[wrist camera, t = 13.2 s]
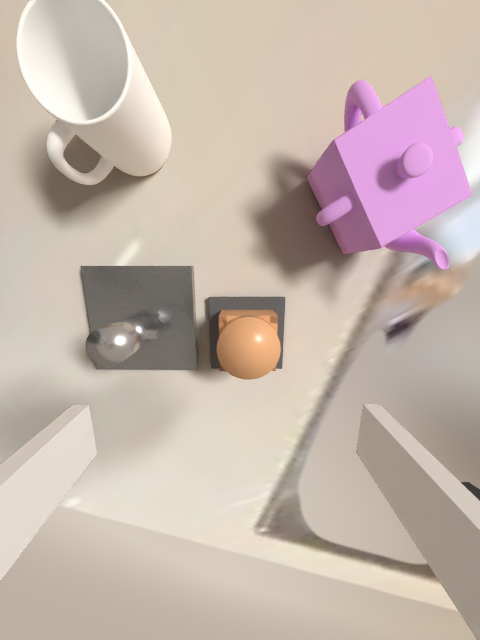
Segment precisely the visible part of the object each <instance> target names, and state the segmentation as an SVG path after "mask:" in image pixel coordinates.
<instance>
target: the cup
mask: <svg viewBox="0 0 480 640" xmlns="http://www.w3.org/2000/svg"><path fill="white" fill-rule="evenodd" d="M16 52H17V59H18V63H19V67H20V70H21V73H22V76H23V79H24V81H25V83H26V85H27V87H28V89H29V90H30V92H31V93H32V95H33V96H34V98H35V99H36V100H37V102H38V103H39V104H40V105H41V106H42V107H43V108H44V109H45V110H46V111H47V112H49V113H50V114H51V115H52V116H54V117H55V118H56V119H57V120H56V122H55V123H54V125H53V127H52V128H51V130H50V132H49V134H48V137H47V141H46V150H47V154H48V156H49V159H50V160H51V162H52V163H53V165H54V166H55V167H56V168H57V169H58V170H59V171H60V172H61V173H62V174H63V175H65V176H66V177H68V178H69V179H71V180H73V181H75V182H77V183H79V184H83V185H94V184H97V183H99V182H101V181H102V180H104V179H105V178H106V177H107V175H108V174H109V173H110V172H111V170H112V169H113V167H114V166H115V167H116V168H118V169H119V170H121V171H123V172H125V173H127V174H129V175H133V176H147V175H150V174H152V173H154V172H156V171H157V170H159V169H160V168H161V167H162V166H163V165H164V163H165V162H166V160H167V158H168V156H169V153H170V149H171V130H170V126H169V122H168V119H167V117H166V114H165V112H164V110H163V108H162V106H161V104H160V102H159V100H158V98H157V96H156V94H155V92H154V90H153V88H152V85H151V83H150V81H149V79H148V77H147V75H146V73H145V71H144V69H143V67H142V65H141V63H140V61H139V59H138V57H137V55H136V53H135V51H134V49H133V47H132V44H131V42H130V40H129V38H128V36H127V34H126V32H125V30H124V28H123V26H122V24H121V22H120V20H119V19H118V17H117V16H116V14H115V13H114V11H113V10H112V9H111V8H110V6H109V5H108V4H107V3H106V2H105V1H104V0H30V1H29V2H28V3H27V5H26V6H25V8H24V10H23V12H22V14H21V17H20V20H19V23H18V28H17V34H16ZM75 134H76V135H77V136H78V137H79V138H80V139H82V140H83V141H84V142H85V143H87V144H88V145H89V146H90V147H91V148H93V149H94V150H95V151H96V152H98V153H99V154H100V155H101V159H100V161H99V162H98V164H97V166H96V167H95V168H94V170H92V171H91V172H89V173H81V172H78V171H77V170H75V169H74V168H72V167H71V166H70V165H69V164H68V163H67V162H66V160H65V159H64V156H63V153H64V150H65V148H66V146H67V145H68V144H69V142H70V141H71V139H72V138H73V137H74V136H75Z"/></svg>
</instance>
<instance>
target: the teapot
mask: <svg viewBox="0 0 480 640" xmlns="http://www.w3.org/2000/svg"><path fill="white" fill-rule="evenodd" d="M361 112H362V114H363V116H364V118H365V120H363V121H362V122H360V119H361ZM344 124H345V133H343V134H342V135H340V136H339V137H337V138H336V139H334V140H333V141H332V142H331V143H330V145H329V146H328V148H327V149H326V150H325V152H324V153H323V155H322V156H321V158H320V159H319V161H318V162H317V163H316V165H315V166H314V168H313V169H312V171H311V172H310V173H309V175H308V176H307V180H308V182H309V184H310V186H311V188H312V191H313V193H314V195H315V197H316V199H317V201H318V203H319V205H320V207H321V209H322V210H321V211H319V213H318V214H317V217H316V220H317V222H318V224H319V225H321V226H326V225H328V224H329V226H330V228H331V230H332V232H333V234H334V236H335V239H336V241H337V243H338V245H339V247H340V249H341V251H342V253H343V254H348V253H355V252H361V251H367V250H373V249H380V248H382V247H383V246H385V247H386V248H388V249H391V250H395V251H401V252H411V253H417V254H421V255H424V256H426V257H428V258H429V259H431V260H432V261H433V262H434V263H435V264H436V265H437V266H438V267H439V268H440V269H442V270H446V269H448V267H449V258H448V255H447V253H446V251H445V250H444V248H443V247H442V246H440V245H439V244H438V243H436V242H435V241H433V240H431V239H429V238H426V237H424V236H422V235H420V234H419V233H417V232H416V231H415V230H414V229H415V228H416V227H418V226H420V225H422V224H423V223H425V222H427V221H428V220H430V219H432V218H434V217H435V216H437V215H439V214H441V213H442V212H444V211H446V210H448V209H449V208H451V207H453V206H454V205H456V204H458V203H460V202H461V201H463V200H465V199H467V198H468V197H470V196H471V195H472V193H471V190H470V187H469V183H468V180H467V177H466V174H465V171H464V168H463V165H462V162H461V159H460V156H459V153H458V150H457V146H458V145H460V144H461V143H462V141H463V133H462V131H461V129H460V128H459V127H453V128H452V129H450V127H449V124H448V121H447V118H446V115H445V112H444V109H443V107H442V104H441V101H440V98H439V95H438V92H437V90H436V87H435V84H434V81H433V79H432V77H431V76H430V77H429V78H427V79H425V80H424V81H422V82H421V83H419V84H418V85H416V86H415V87H413V88H412V89H410V90H409V91H407V92H406V93H404V94H403V95H401V96H400V97H398V98H397V99H395V100H393V101H392V102H390V103H389V104H387V105H386V106H384V107H382V105H381V102H380V100H379V98H378V96H377V95H376V93H375V91H374V89H373V88H372V87H371V85H370V84H369V83H368V82H366V81H364V80H359V81H357V82H355V83H354V84H353V85H352V86H351V87H350V89H349V91H348V94H347V97H346V103H345V114H344Z"/></svg>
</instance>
